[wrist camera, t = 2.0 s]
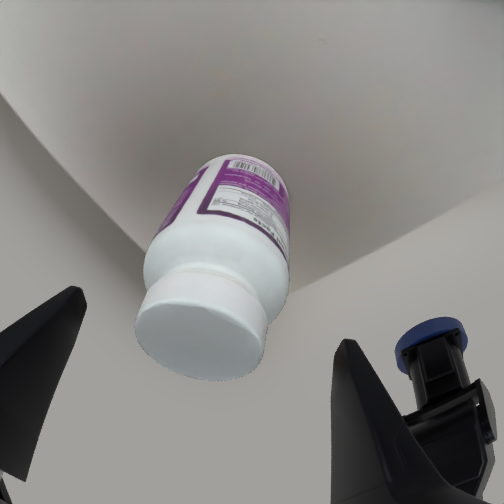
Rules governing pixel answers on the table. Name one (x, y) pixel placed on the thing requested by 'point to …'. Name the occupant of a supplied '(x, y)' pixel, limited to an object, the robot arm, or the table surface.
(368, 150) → the table surface
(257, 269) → the pill bottle
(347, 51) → the table surface
